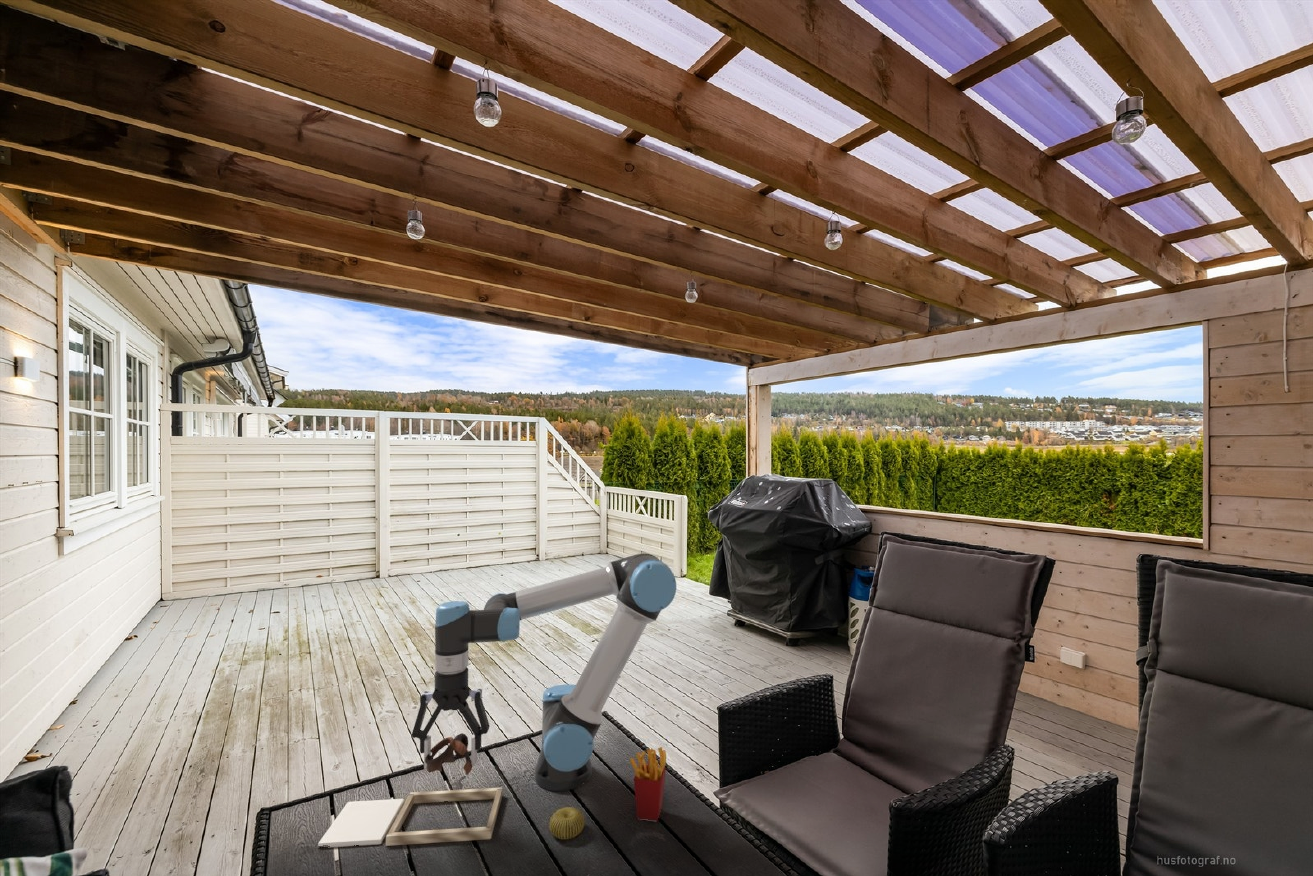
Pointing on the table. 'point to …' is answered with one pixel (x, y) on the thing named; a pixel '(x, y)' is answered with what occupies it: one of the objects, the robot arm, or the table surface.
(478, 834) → the frame
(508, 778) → the table surface
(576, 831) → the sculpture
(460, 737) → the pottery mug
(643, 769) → the french fries
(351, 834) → the ceramic tile
